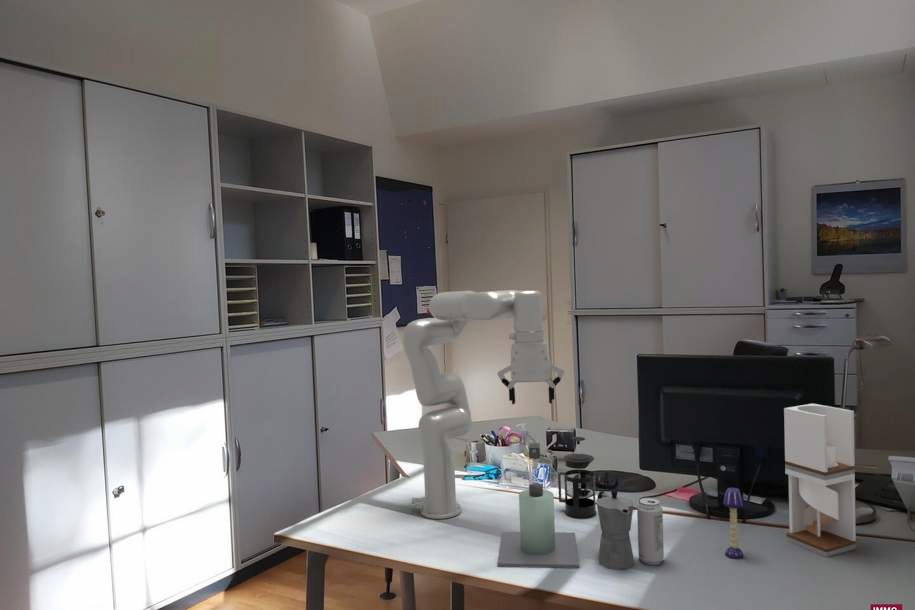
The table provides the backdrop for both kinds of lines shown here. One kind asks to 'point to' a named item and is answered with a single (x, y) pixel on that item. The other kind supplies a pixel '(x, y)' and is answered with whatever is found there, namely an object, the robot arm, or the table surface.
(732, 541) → the toy lamp
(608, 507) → the coffeepot
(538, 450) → the pump head
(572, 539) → the dispenser bottle
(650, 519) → the energy drink can
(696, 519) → the table surface
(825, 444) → the white architectural model
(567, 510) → the french press
